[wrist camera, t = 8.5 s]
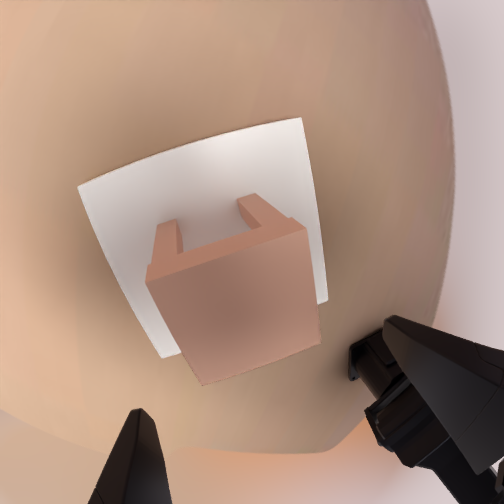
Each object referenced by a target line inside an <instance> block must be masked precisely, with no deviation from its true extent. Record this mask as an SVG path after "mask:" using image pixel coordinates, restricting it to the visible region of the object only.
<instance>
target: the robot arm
mask: <svg viewBox="0 0 504 504" xmlns="http://www.w3.org/2000/svg"><path fill="white" fill-rule="evenodd" d="M359 377H360V378H361V379H362V380H363V382H364V383H365V384H366V386H367V387H368V389H369V390H370V391H371V393H372V394H373V395H374V397H375V398H376V399H377V401H375V402H374V403H373V404H372V405H371V406H370V407H367V408H366V409H365V410H364V412H365V414H366V418H367V420H368V422H369V424H370V426H371V428H372V431H373V433H374V435H375V437H376V439H377V443H378V445H379V446H383V447H385V448H386V449H387V450H389V451H390V452H395V453H396V455H397V456H398V458H399V459H400V461H401V462H402V464H403V465H405V466H408V467H410V468H413V467H415V466H419V467H423V468H427V469H431V470H433V471H434V472H435V474H436V475H437V476H438V477H439V479H440V480H441V481H442V482H443V484H444V485H445V486H446V488H447V489H448V490H449V491H450V493H451V494H452V495H453V497H454V498H455V499H456V500H457V502H458V503H459V504H504V459H503V460H502V461H501V462H500V463H499V467H498V473H497V472H496V471H495V470H494V468H493V467H492V466H491V465H493V464H494V463H496V462H497V461H498V460H500V459H501V458H502V457H503V456H504V351H503V350H499V349H495V348H491V347H488V346H485V345H481V344H478V343H474V342H472V341H469V340H466V339H463V338H460V337H457V336H454V335H452V334H448V333H446V332H443V331H440V330H437V329H434V328H431V327H428V326H425V325H422V324H420V323H417V322H414V321H411V320H408V319H405V318H402V317H399V316H397V315H392V316H390V317H388V318H386V319H385V320H384V325H383V330H382V331H380V332H378V333H376V334H374V335H372V336H370V337H368V338H366V339H364V340H362V341H360V342H358V343H356V344H354V345H353V346H351V347H350V350H349V380H350V381H354V380H356V379H358V378H359ZM88 504H172V500H171V495H170V490H169V484H168V479H167V473H166V467H165V461H164V457H163V453H162V449H161V446H160V442H159V438H158V434H157V429H156V425H155V422H154V420H153V419H152V418H151V417H150V416H149V415H148V414H147V413H146V412H145V411H144V410H143V409H142V408H139V409H133V410H131V411H130V413H129V415H128V417H127V419H126V421H125V423H124V425H123V427H122V430H121V432H120V434H119V436H118V438H117V440H116V442H115V444H114V447H113V449H112V451H111V453H110V455H109V458H108V460H107V462H106V464H105V466H104V468H103V470H102V473H101V475H100V477H99V479H98V482H97V484H96V488H95V489H94V491H93V493H92V495H91V498H90V500H89V502H88Z"/></svg>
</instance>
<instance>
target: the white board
mask: <svg viewBox="0 0 504 504" xmlns="http://www.w3.org/2000/svg"><path fill="white" fill-rule="evenodd" d="M77 188H78V191H79V194H80V196H81V199H82V202H83V204H84V207H85V210H86V212H87V215H88V217H89V220H90V222H91V225H92V227H93V229H94V232H95V234H96V236H97V239H98V241H99V243H100V246H101V248H102V250H103V252H104V254H105V257H106V259H107V261H108V263H109V265H110V267H111V269H112V271H113V273H114V275H115V277H116V279H117V281H118V283H119V285H120V287H121V289H122V291H123V293H124V295H125V297H126V299H127V300H128V302H129V304H130V306H131V308H132V310H133V311H134V313H135V315H136V317H137V318H138V320H139V322H140V324H141V325H142V327H143V329H144V331H145V332H146V334H147V336H148V337H149V339H150V340H151V342H152V344H153V345H154V347H155V349H156V350H157V352H158V353H159V355H160V356H161V358H165V357H169V356H172V355H176V354H179V353H182V352H181V350H180V349H179V347H178V345H177V343H176V342H175V340H174V338H173V336H172V334H171V333H170V331H169V329H168V327H167V325H166V323H165V321H164V320H163V318H162V316H161V314H160V312H159V310H158V308H157V306H156V304H155V302H154V300H153V298H152V296H151V294H150V292H149V290H148V288H147V286H146V284H145V279H146V272H147V265H149V264H151V260H152V253H153V246H154V240H155V234H156V228H157V225H158V224H161V223H164V222H167V221H170V220H173V219H176V221H177V223H178V226H179V229H180V232H181V235H182V241H183V251H184V252H186V251H189V250H192V249H195V248H198V247H201V246H204V245H207V244H210V243H213V242H216V241H219V240H222V239H225V238H228V237H231V236H234V235H237V234H240V233H243V232H246V231H250V230H251V228H250V227H249V226H248V225H247V223H246V222H245V221H244V220H243V218H242V217H241V214H240V210H239V206H238V202H237V198H240V197H244V196H247V195H250V194H254V193H256V194H257V195H259V196H260V197H261V198H263V199H264V200H265V201H267V202H268V203H269V204H270V205H272V206H273V207H274V208H276V209H277V210H278V211H279V212H281V213H282V214H283V215H285V216H286V217H287V218H290V217H292V218H294V219H295V220H296V221H298V222H299V223H300V224H302V225H303V226H304V227H306V228H307V233H308V240H309V246H310V253H311V260H312V267H313V274H314V282H315V290H316V298H317V305H318V304H321V303H323V302H326V301H328V292H327V282H326V272H325V263H324V254H323V246H322V238H321V230H320V223H319V215H318V209H317V202H316V195H315V189H314V183H313V177H312V171H311V166H310V160H309V155H308V149H307V144H306V139H305V134H304V129H303V124H302V119H301V118H290V119H285V120H280V121H275V122H270V123H265V124H260V125H256V126H251V127H247V128H243V129H239V130H235V131H231V132H227V133H223V134H219V135H216V136H212V137H208V138H205V139H201V140H198V141H195V142H191V143H188V144H185V145H182V146H178V147H175V148H172V149H169V150H166V151H163V152H160V153H157V154H155V155H152V156H149V157H146V158H143V159H141V160H138V161H135V162H133V163H130V164H127V165H125V166H122V167H120V168H117V169H115V170H112V171H110V172H108V173H105V174H103V175H101V176H98V177H96V178H94V179H91V180H89V181H87V182H85V183H83V184H81V185H80V186H78V187H77Z"/></svg>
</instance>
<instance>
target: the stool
mask: <svg viewBox="0 0 504 504" xmlns="http://www.w3.org/2000/svg"><path fill="white" fill-rule="evenodd" d="M237 202H238V206H239V210H240V214H241V217H242V218H243V220H244V221H245V222H246V223H247V225H248V226H249V227H250V228H251V230H250V231H246V232H243V233H240V234H237V235H234V236H231V237H228V238H225V239H222V240H219V241H216V242H213V243H210V244H207V245H204V246H201V247H198V248H195V249H192V250H189V251H186V252H184V251H183V241H182V235H181V232H180V229H179V226H178V223H177V221H176V219H173V220H170V221H167V222H164V223H161V224H158V225H157V228H156V234H155V240H154V246H153V253H152V260H151V264H149V265H147V272H146V279H145V284H146V286H147V288H148V290H149V292H150V294H151V296H152V298H153V300H154V302H155V304H156V306H157V308H158V310H159V312H160V314H161V316H162V318H163V320H164V321H165V323H166V325H167V327H168V329H169V331H170V333H171V334H172V336H173V338H174V340H175V342H176V343H177V345H178V347H179V349H180V350H181V352H182V354H183V356H184V357H185V359H186V361H187V362H188V364H189V366H190V367H191V369H192V371H193V372H194V374H195V375H196V377H197V379H198V380H199V382H200V384H201V385H202V386H203V385H207V384H210V383H213V382H217V381H220V380H223V379H226V378H229V377H233V376H236V375H239V374H242V373H245V372H247V371H250V370H253V369H256V368H259V367H262V366H264V365H267V364H270V363H272V362H275V361H278V360H280V359H283V358H286V357H288V356H291V355H293V354H296V353H298V352H301V351H303V350H305V349H308V348H310V347H313V346H315V345H317V344H320V343H321V333H320V324H319V315H318V306H317V298H316V290H315V282H314V274H313V267H312V260H311V253H310V246H309V240H308V233H307V228H306V227H304V226H303V225H302V224H300V223H299V222H298V221H296V220H295V219H294V218H292V217H290V218H287V217H286V216H285V215H283V214H282V213H281V212H279V211H278V210H277V209H276V208H274V207H273V206H272V205H270V204H269V203H268V202H267V201H265V200H264V199H263V198H261V197H260V196H259V195H257V194H256V193H254V194H250V195H247V196H244V197H240V198H237Z"/></svg>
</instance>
